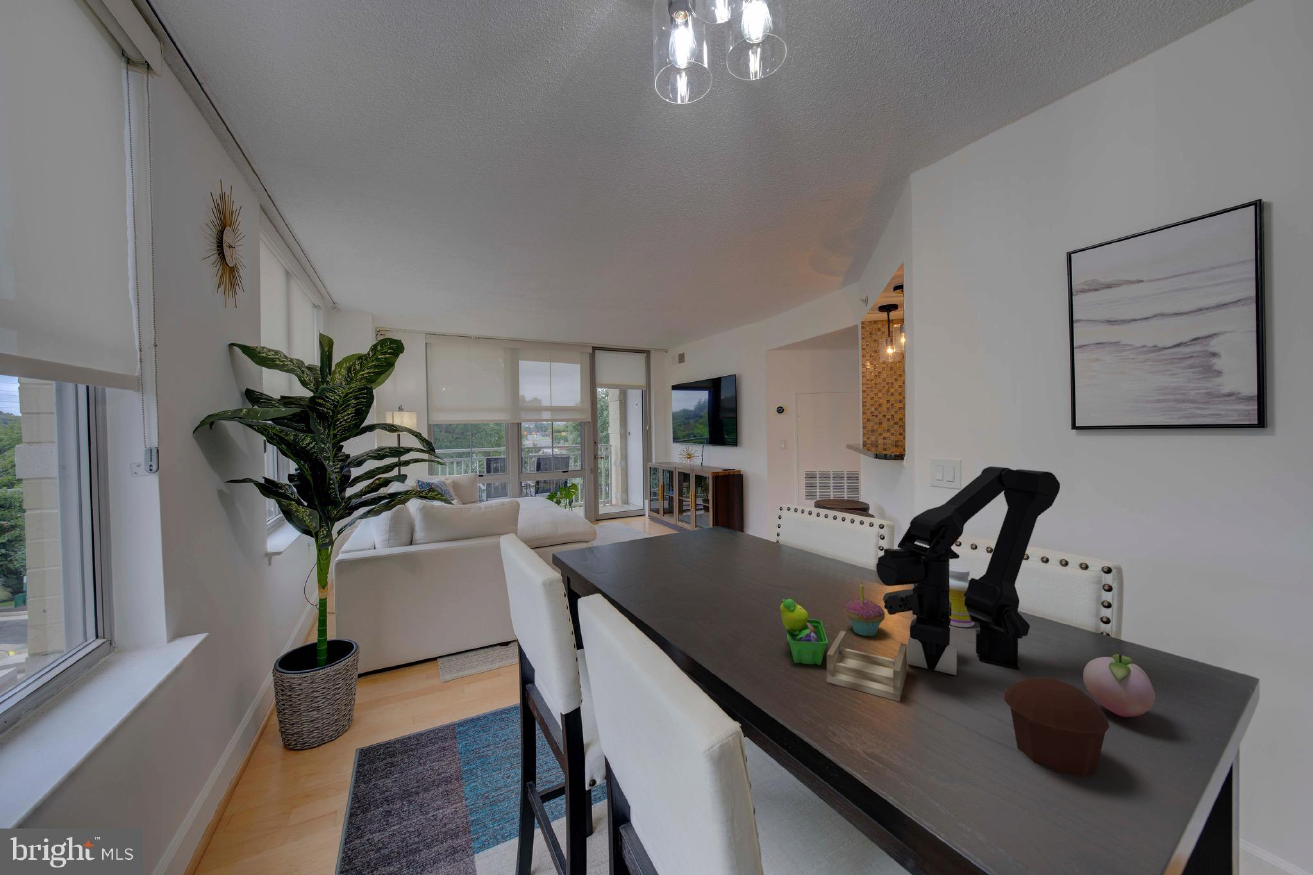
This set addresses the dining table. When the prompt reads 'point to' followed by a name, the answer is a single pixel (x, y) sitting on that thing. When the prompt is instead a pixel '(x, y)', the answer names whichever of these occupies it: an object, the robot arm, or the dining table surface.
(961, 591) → the supplement bottle
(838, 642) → the roll cradle
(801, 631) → the fruit basket
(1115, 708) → the decorative fruit
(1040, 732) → the muffin
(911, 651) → the paper roll
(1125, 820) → the dining table surface
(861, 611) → the cupcake
